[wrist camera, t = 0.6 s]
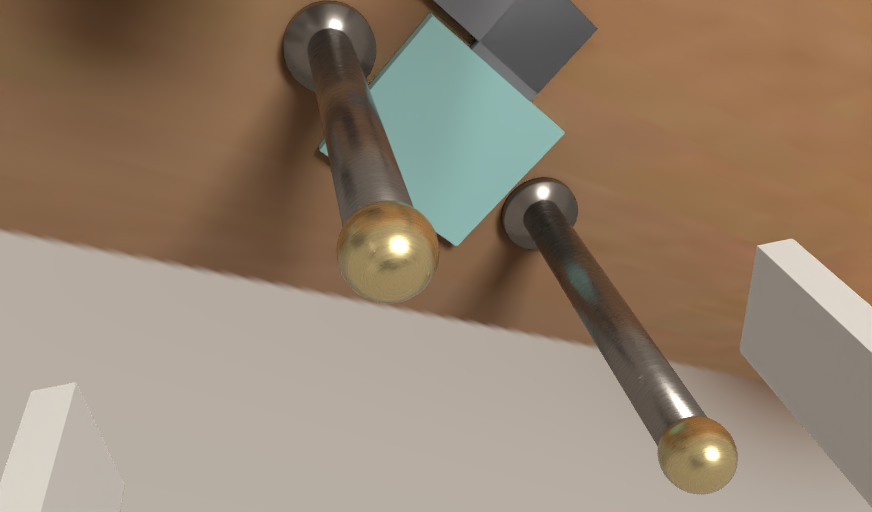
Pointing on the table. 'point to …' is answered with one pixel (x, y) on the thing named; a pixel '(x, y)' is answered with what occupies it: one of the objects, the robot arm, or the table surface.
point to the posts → (523, 222)
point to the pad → (456, 129)
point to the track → (523, 37)
